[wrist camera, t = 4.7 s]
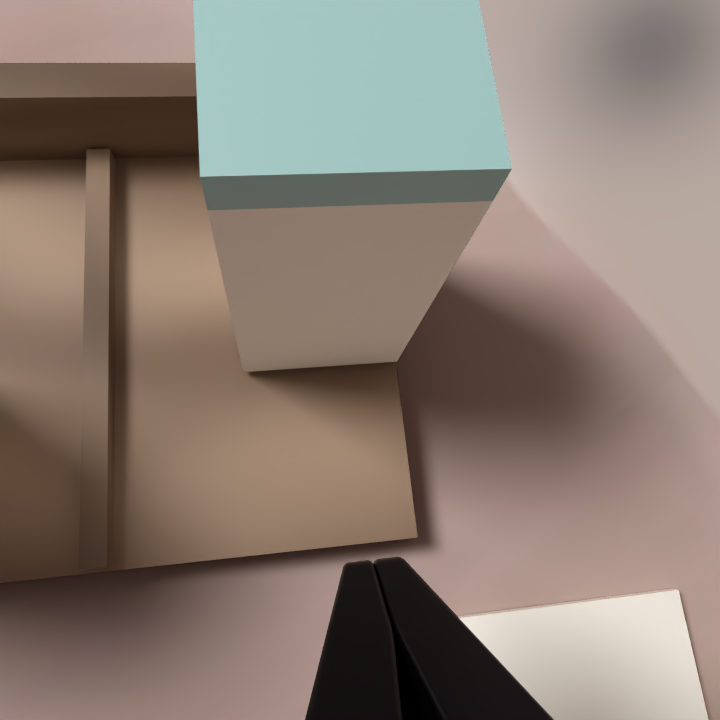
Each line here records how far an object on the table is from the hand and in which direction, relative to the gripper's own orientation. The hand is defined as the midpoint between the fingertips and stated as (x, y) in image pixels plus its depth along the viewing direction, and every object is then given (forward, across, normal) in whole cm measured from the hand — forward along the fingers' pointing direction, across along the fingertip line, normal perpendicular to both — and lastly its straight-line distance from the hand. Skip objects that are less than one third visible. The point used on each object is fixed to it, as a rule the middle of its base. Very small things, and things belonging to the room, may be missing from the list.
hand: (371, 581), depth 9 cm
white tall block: (+9, 0, -1) cm, 9 cm away
